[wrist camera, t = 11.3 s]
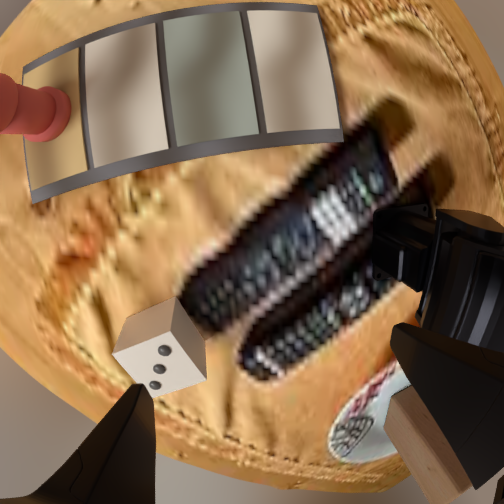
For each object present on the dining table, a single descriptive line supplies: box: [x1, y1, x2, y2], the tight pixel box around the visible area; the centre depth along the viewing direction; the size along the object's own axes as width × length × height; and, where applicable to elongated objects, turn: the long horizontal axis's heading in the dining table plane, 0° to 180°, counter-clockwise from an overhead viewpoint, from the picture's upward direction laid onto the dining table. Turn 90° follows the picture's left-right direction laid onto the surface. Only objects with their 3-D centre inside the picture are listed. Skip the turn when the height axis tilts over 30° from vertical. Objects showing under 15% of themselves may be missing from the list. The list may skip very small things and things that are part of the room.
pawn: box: [0, 73, 71, 142], centre depth 10 cm, size 4×4×9 cm
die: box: [112, 296, 207, 398], centre depth 20 cm, size 5×5×5 cm
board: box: [22, 2, 344, 204], centre depth 15 cm, size 24×12×1 cm, turn 98°
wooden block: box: [384, 386, 473, 504], centre depth 24 cm, size 10×10×20 cm
